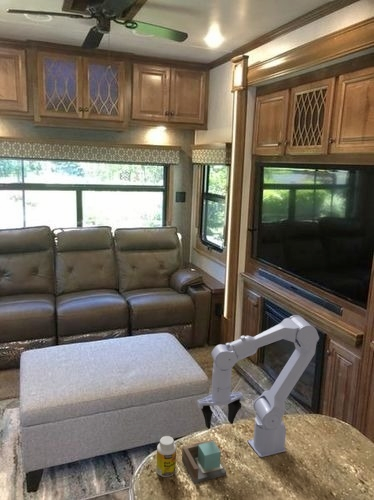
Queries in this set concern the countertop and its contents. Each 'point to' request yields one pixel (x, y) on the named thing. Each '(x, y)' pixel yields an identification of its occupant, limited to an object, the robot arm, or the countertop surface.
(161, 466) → the supplement bottle
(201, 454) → the teal block
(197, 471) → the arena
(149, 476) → the countertop surface
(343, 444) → the countertop surface
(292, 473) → the countertop surface
